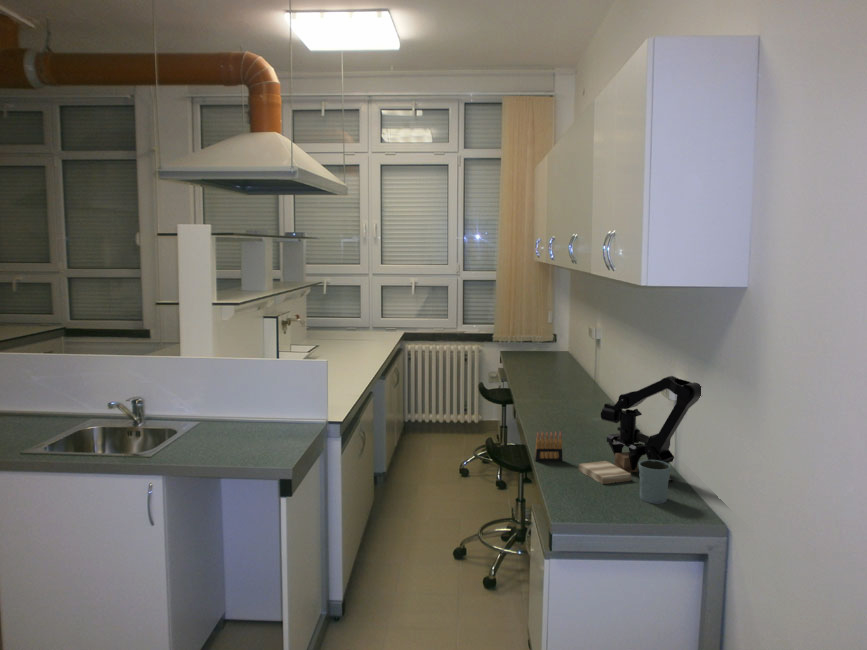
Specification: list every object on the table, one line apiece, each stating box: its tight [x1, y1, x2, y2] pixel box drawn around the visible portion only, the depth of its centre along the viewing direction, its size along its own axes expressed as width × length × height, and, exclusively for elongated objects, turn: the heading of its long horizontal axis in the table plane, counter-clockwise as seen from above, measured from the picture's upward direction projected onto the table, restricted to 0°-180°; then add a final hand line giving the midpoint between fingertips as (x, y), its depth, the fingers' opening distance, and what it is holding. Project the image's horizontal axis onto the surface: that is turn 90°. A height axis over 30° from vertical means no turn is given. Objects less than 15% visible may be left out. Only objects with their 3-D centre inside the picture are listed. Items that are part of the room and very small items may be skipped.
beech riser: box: [578, 460, 632, 485], centre depth 249 cm, size 16×12×2 cm
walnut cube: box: [614, 451, 639, 474], centre depth 256 cm, size 6×6×6 cm
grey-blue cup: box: [638, 459, 672, 505], centre depth 225 cm, size 10×10×12 cm
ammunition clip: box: [534, 430, 563, 463], centre depth 266 cm, size 11×2×12 cm, turn 92°
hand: (626, 466), depth 256 cm, fingers open, 9 cm apart
